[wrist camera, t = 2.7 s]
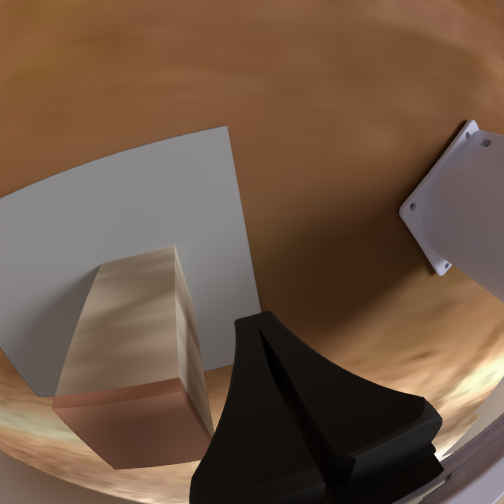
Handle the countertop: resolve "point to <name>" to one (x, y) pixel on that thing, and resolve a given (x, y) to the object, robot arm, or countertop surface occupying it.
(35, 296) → the rubber mat
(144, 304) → the birch block
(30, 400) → the countertop surface
